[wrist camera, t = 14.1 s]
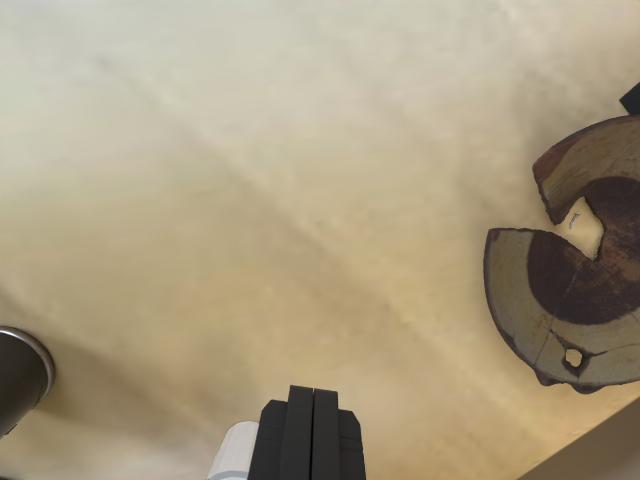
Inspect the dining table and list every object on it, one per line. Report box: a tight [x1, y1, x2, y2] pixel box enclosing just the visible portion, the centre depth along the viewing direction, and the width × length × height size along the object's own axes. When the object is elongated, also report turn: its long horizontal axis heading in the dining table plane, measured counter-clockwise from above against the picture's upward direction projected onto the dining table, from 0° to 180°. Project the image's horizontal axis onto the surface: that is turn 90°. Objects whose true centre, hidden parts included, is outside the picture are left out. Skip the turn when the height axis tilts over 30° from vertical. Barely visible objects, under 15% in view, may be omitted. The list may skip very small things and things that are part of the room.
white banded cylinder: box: [205, 421, 259, 480], centre depth 41 cm, size 7×7×7 cm
